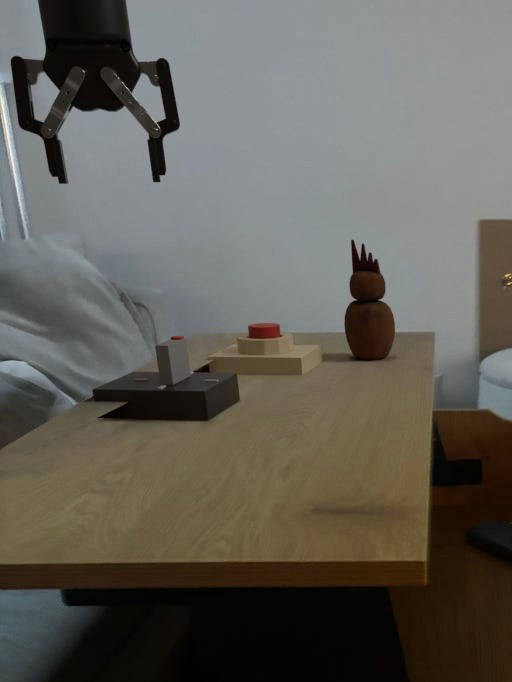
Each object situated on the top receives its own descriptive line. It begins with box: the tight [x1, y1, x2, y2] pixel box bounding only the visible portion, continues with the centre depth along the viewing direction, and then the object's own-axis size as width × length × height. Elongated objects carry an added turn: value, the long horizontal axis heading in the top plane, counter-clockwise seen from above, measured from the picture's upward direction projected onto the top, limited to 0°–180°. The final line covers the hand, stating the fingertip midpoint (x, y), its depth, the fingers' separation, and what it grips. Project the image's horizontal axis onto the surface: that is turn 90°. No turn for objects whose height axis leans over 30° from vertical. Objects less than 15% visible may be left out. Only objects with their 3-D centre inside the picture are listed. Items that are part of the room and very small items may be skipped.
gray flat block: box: [154, 335, 192, 385], centre depth 104 cm, size 5×1×4 cm, turn 174°
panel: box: [92, 371, 241, 421], centre depth 105 cm, size 12×10×3 cm
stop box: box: [207, 331, 323, 376], centre depth 127 cm, size 12×10×4 cm
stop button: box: [247, 322, 282, 339], centre depth 126 cm, size 4×4×2 cm
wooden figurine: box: [343, 239, 396, 361], centre depth 131 cm, size 7×6×15 cm
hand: (110, 183), depth 95 cm, fingers open, 8 cm apart
